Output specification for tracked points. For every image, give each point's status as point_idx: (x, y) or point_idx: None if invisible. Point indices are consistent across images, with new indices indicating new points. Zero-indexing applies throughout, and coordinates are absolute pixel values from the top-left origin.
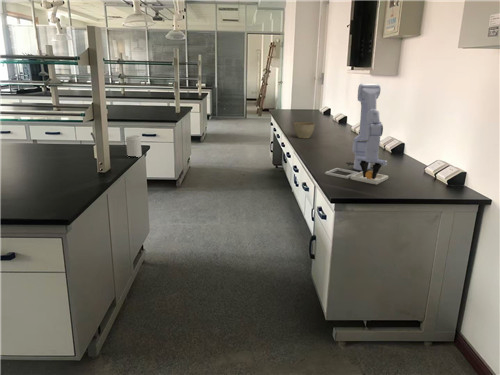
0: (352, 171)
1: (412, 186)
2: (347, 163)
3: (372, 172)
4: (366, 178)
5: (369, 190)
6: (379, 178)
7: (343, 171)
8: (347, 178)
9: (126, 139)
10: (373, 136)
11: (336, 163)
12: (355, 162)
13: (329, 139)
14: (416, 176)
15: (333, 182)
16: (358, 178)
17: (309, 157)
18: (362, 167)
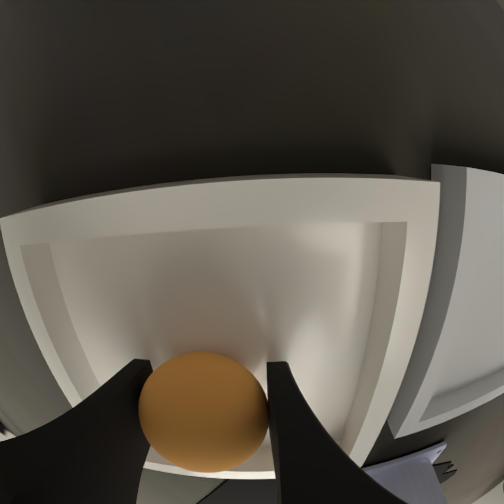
0: (445, 411)
1: (2, 378)
2: (452, 472)
3: (148, 441)
4: (248, 368)
5: (45, 38)
6: None
7: (495, 376)
8: (447, 181)
9: None
10: None
11: (491, 442)
12: (437, 494)
13: (471, 497)
14: None
15: (462, 23)
16: (280, 177)
17: None
18: (334, 484)
